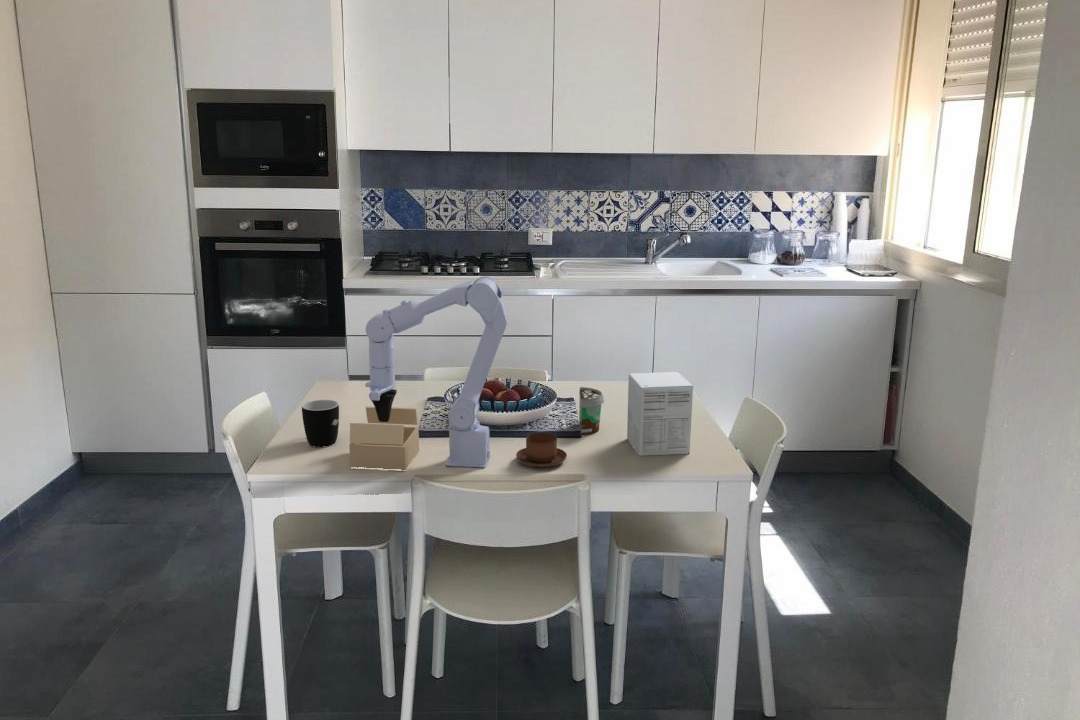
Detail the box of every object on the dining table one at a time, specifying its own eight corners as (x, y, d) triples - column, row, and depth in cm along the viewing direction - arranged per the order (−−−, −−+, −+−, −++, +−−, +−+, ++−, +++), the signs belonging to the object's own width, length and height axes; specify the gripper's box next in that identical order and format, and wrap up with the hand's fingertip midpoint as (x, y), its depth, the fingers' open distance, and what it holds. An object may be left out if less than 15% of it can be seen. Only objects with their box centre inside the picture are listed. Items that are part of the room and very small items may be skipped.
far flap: (417, 424, 220) (417, 423, 221) (415, 409, 218) (416, 408, 218) (367, 423, 221) (368, 421, 222) (365, 407, 219) (366, 406, 220)
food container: (605, 437, 232) (606, 400, 229) (581, 437, 232) (581, 400, 229) (601, 422, 244) (602, 386, 241) (578, 422, 244) (579, 386, 241)
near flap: (403, 425, 206) (403, 425, 206) (402, 444, 206) (402, 444, 206) (350, 423, 208) (350, 423, 207) (350, 442, 208) (349, 442, 207)
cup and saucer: (505, 461, 215) (505, 437, 213) (541, 449, 223) (541, 426, 222) (541, 475, 207) (541, 450, 205) (576, 462, 215) (577, 438, 213)
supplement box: (691, 454, 220) (694, 385, 216) (638, 456, 218) (640, 387, 214) (675, 436, 233) (678, 371, 229) (625, 438, 231) (627, 372, 227)
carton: (419, 450, 222) (418, 427, 220) (405, 471, 208) (404, 446, 207) (367, 448, 223) (366, 425, 221) (350, 469, 209) (349, 444, 208)
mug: (336, 449, 222) (334, 410, 220) (300, 449, 222) (297, 410, 219) (346, 433, 234) (344, 396, 231) (311, 433, 234) (309, 396, 231)
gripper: (373, 357, 217) (375, 411, 220) (356, 373, 203) (358, 430, 206) (402, 358, 216) (404, 412, 220) (386, 374, 202) (388, 431, 206)
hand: (384, 421), depth 213 cm, fingers closed
